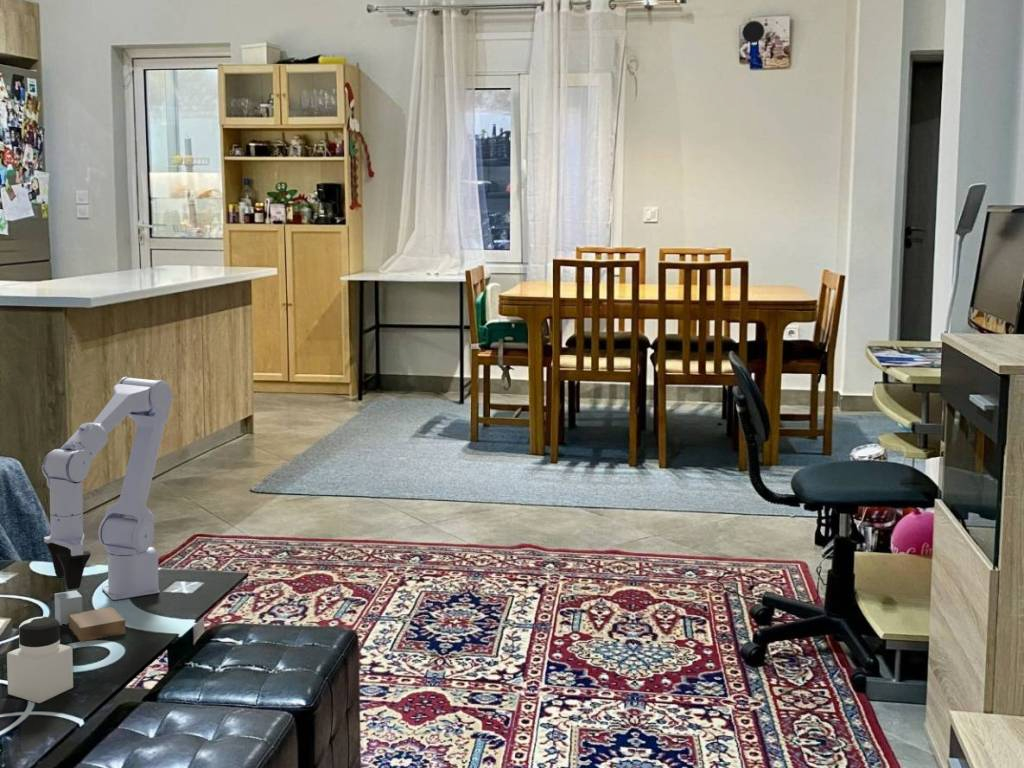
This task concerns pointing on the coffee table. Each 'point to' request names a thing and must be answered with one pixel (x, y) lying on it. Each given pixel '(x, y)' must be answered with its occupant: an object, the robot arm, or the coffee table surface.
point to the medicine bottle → (39, 662)
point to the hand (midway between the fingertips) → (67, 582)
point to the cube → (67, 605)
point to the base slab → (97, 624)
